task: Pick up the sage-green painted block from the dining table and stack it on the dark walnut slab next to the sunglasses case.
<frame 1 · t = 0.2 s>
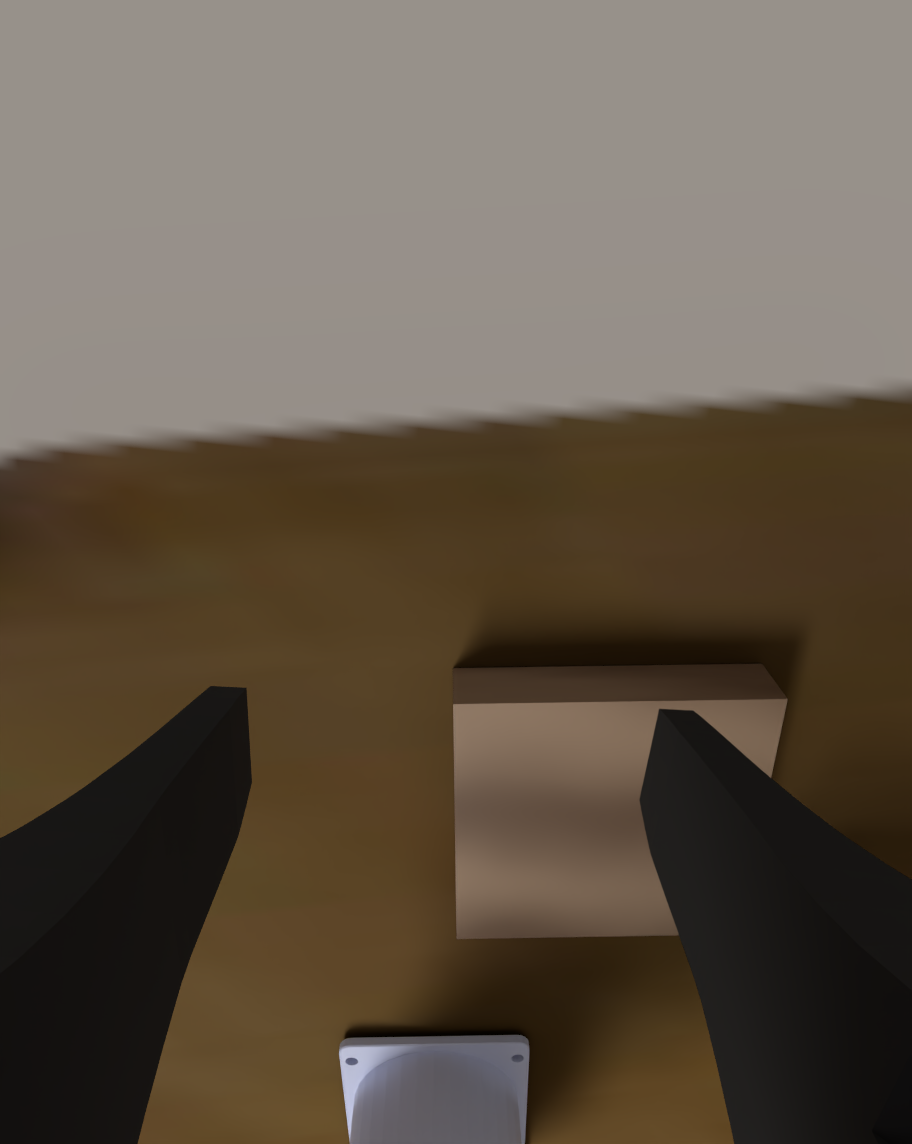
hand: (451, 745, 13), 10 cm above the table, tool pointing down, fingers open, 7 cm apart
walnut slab: (596, 787, 26), on the table
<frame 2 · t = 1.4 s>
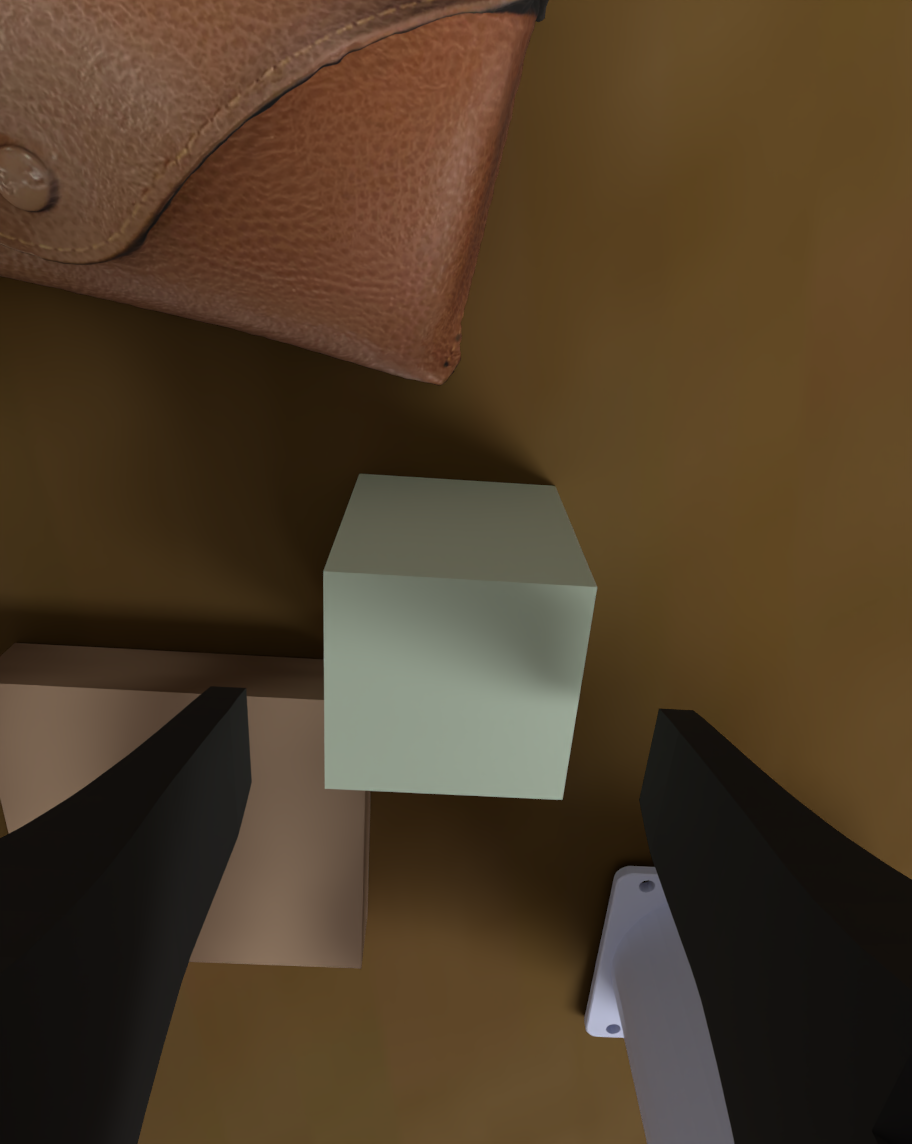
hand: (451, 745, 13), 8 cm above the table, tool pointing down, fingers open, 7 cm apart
green block: (451, 568, 20), on the table
sunglasses case: (105, 112, 16), on the table
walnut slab: (208, 792, 23), on the table
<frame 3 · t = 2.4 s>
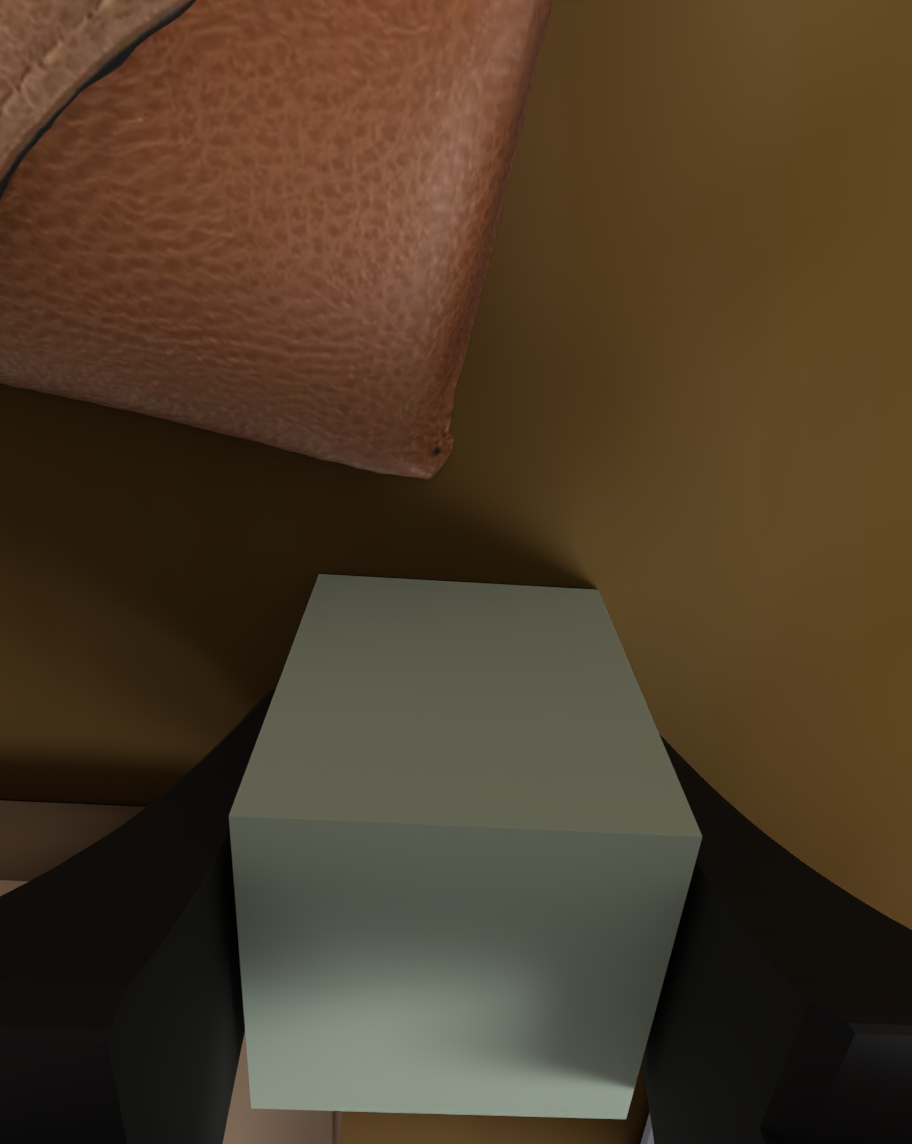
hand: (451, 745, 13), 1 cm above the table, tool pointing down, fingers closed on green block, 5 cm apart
green block: (450, 699, 14), on the table, touching gripper
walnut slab: (128, 971, 17), on the table
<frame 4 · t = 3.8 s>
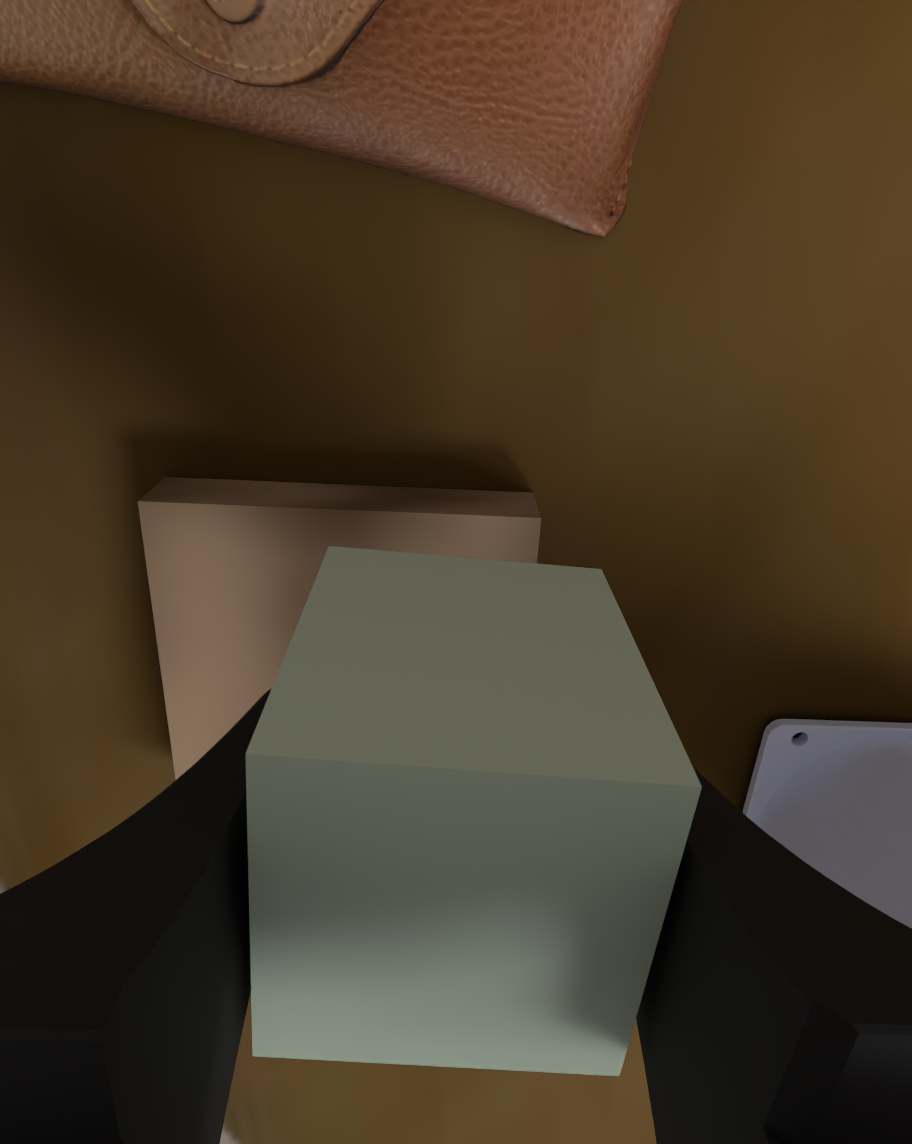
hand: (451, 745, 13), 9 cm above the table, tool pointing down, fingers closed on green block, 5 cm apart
green block: (453, 674, 15), point 7 cm above the table, touching gripper
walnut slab: (352, 643, 22), on the table
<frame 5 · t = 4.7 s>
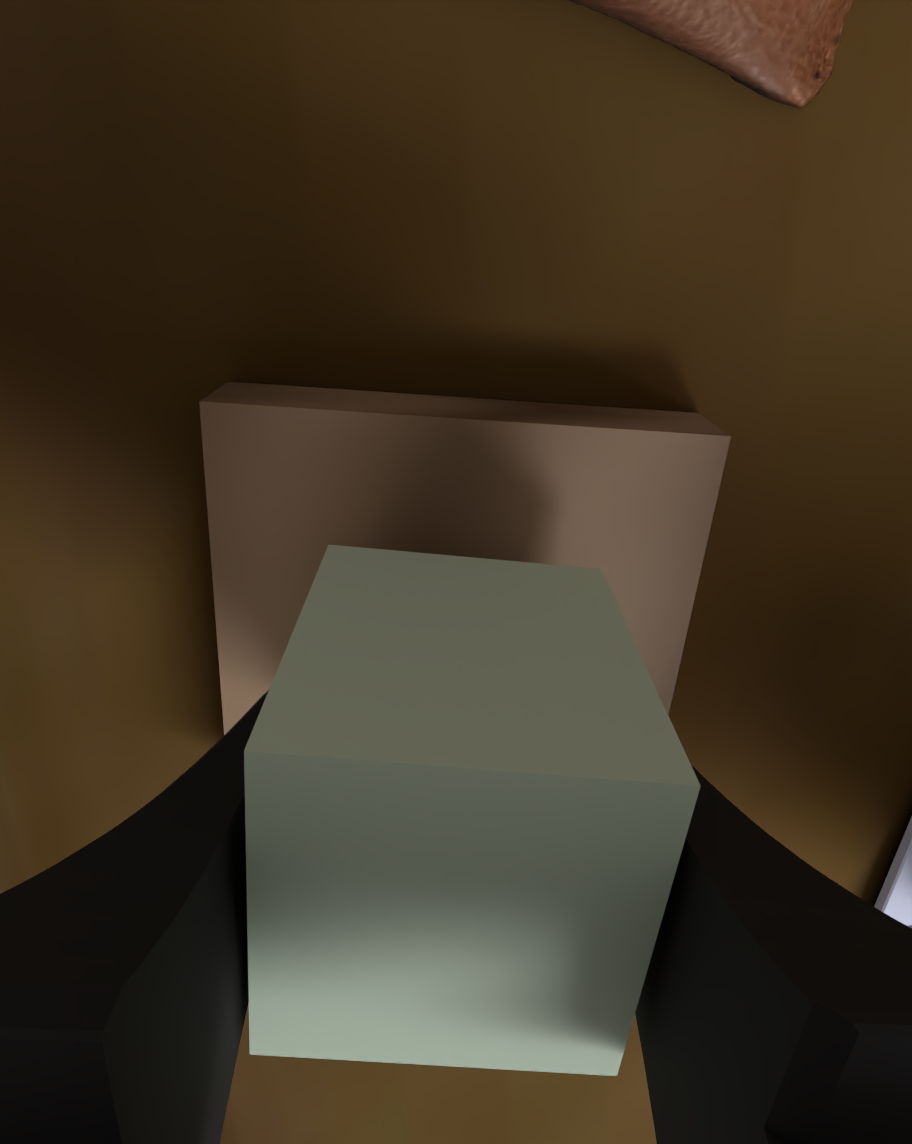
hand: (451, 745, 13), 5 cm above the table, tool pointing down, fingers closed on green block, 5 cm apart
green block: (452, 674, 15), point 3 cm above the table, touching gripper
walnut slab: (450, 606, 18), on the table
when the fingers open (5 cm above the table, at t = 5.3 s): green block drops 1 cm, resting on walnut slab.
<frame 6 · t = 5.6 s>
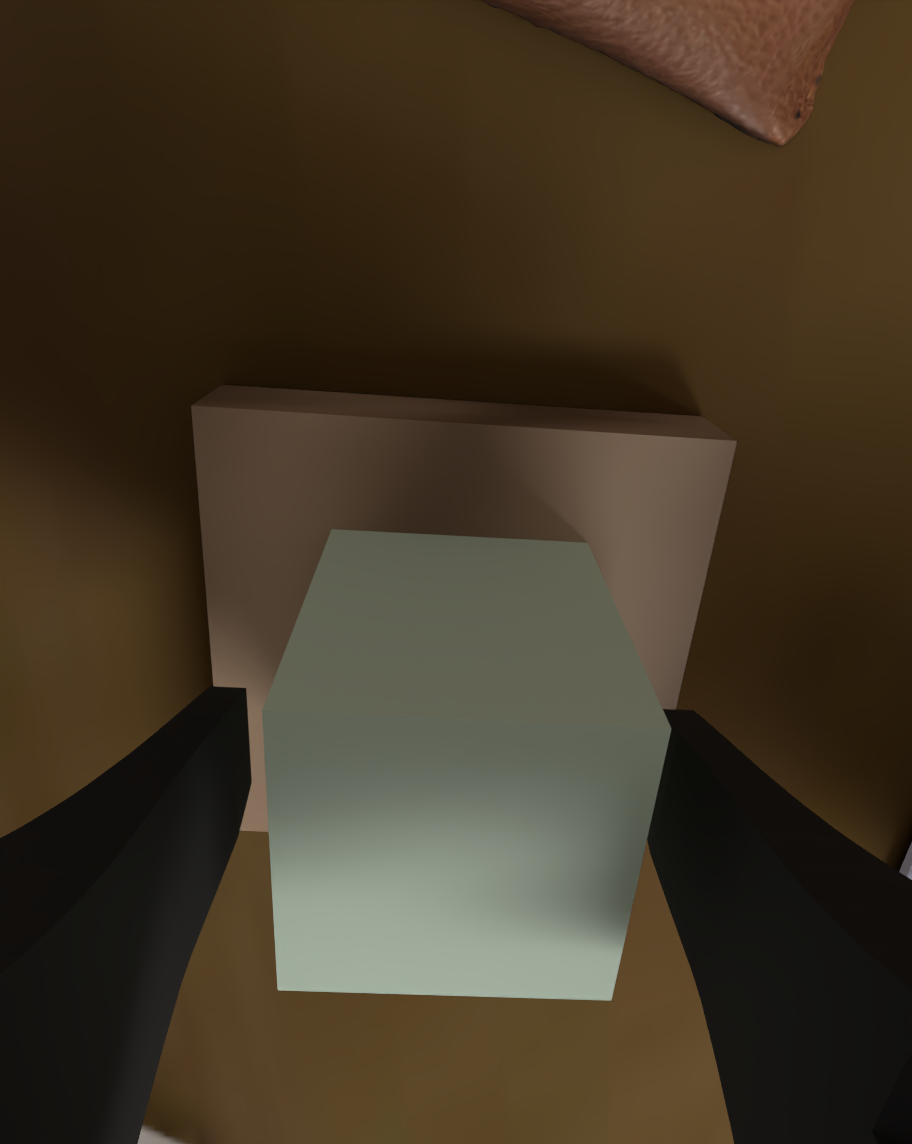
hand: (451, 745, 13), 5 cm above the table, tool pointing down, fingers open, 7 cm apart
green block: (452, 646, 16), point 2 cm above the table, touching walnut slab
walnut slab: (449, 614, 18), on the table
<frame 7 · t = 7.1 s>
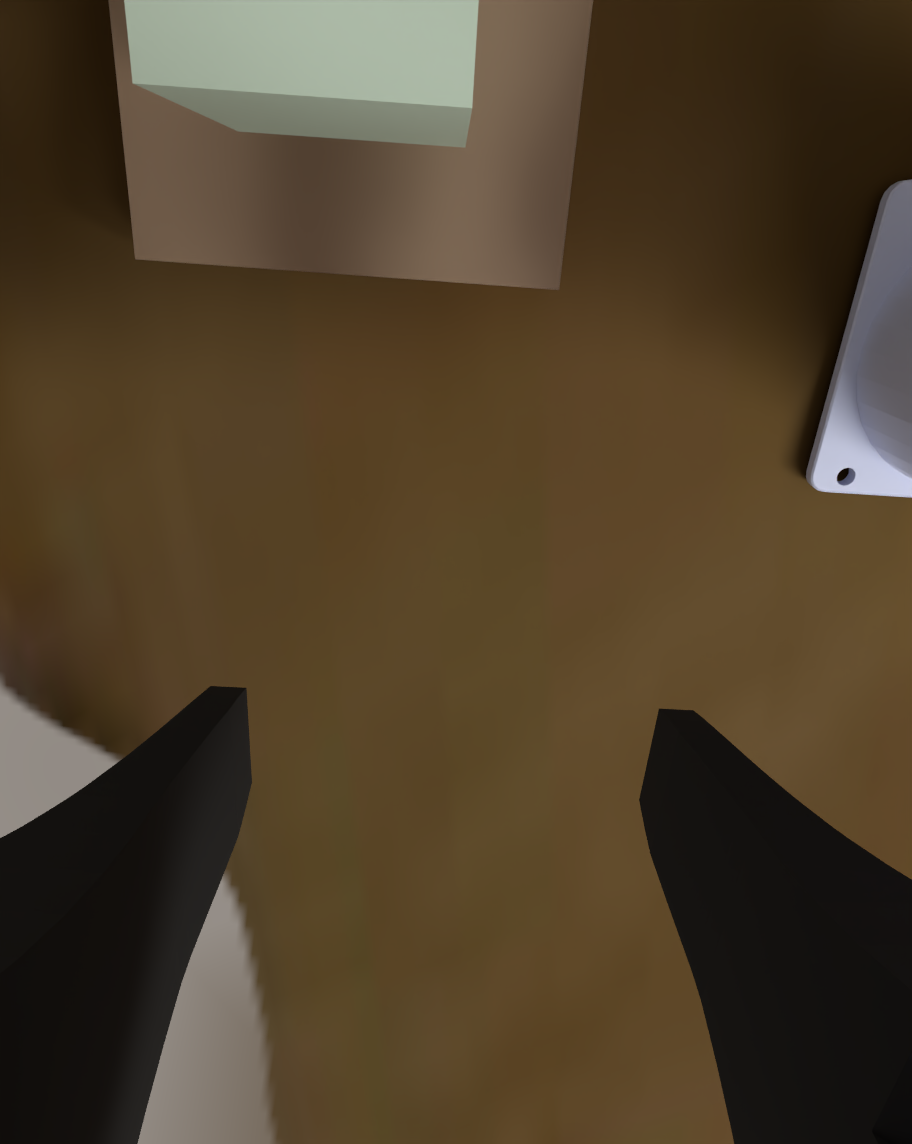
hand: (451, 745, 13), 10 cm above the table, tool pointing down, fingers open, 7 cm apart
green block: (352, 0, 15), point 2 cm above the table, touching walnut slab
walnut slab: (361, 39, 17), on the table
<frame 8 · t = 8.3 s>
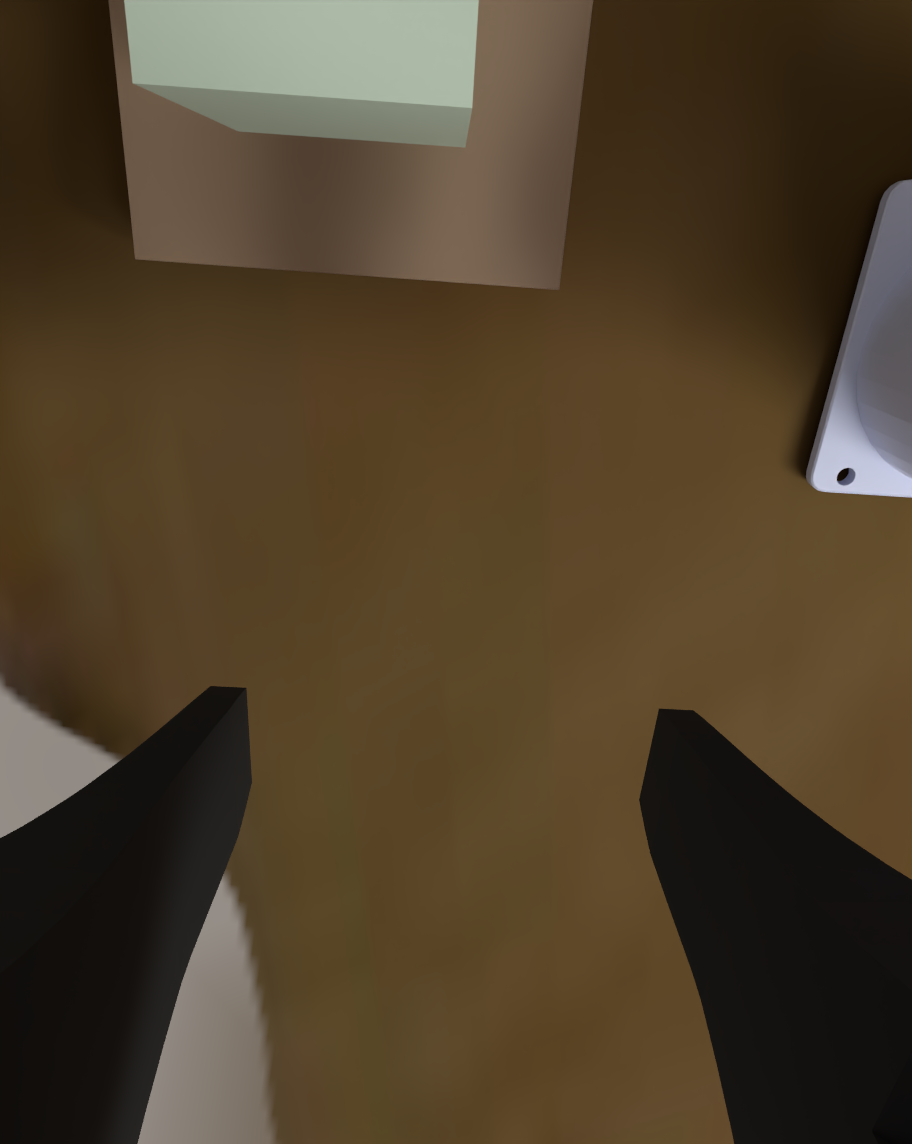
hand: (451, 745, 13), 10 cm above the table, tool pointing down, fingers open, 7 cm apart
green block: (352, 0, 15), point 2 cm above the table, touching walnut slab
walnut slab: (361, 39, 17), on the table
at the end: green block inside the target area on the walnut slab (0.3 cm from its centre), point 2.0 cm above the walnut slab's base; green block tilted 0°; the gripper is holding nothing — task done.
